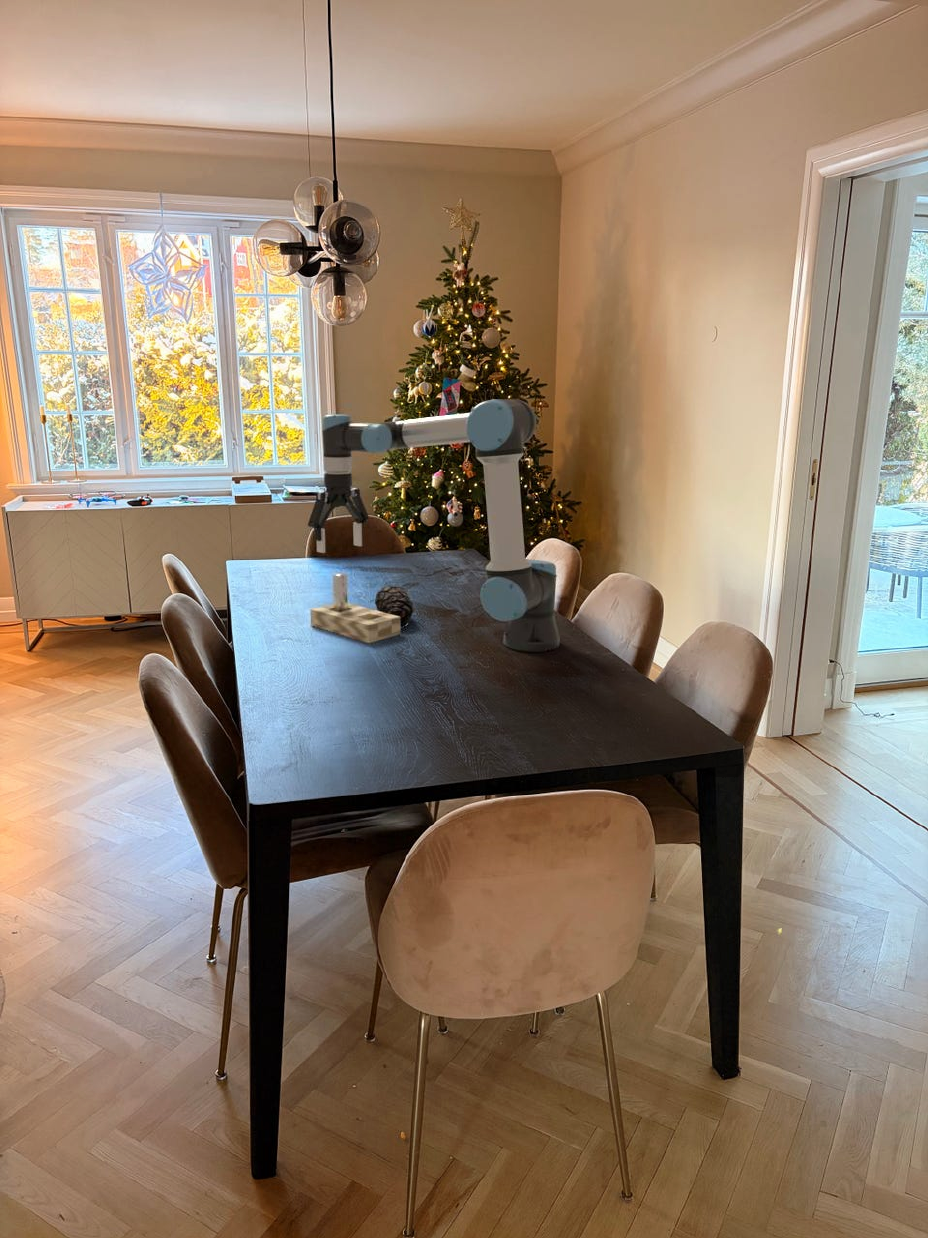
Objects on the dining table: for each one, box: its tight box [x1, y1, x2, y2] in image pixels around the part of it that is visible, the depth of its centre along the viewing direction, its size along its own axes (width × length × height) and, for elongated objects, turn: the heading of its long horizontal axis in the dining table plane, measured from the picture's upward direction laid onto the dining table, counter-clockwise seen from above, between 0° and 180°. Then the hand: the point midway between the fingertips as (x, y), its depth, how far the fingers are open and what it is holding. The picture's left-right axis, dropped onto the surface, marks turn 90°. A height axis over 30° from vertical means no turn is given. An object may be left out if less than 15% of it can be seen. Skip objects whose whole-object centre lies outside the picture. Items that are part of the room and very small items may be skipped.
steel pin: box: [332, 572, 349, 612], centre depth 253 cm, size 4×4×14 cm
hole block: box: [309, 603, 401, 644], centre depth 251 cm, size 24×12×5 cm, turn 49°
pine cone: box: [374, 585, 415, 628], centre depth 260 cm, size 10×18×10 cm, turn 25°
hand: (339, 549), depth 249 cm, fingers open, 13 cm apart
